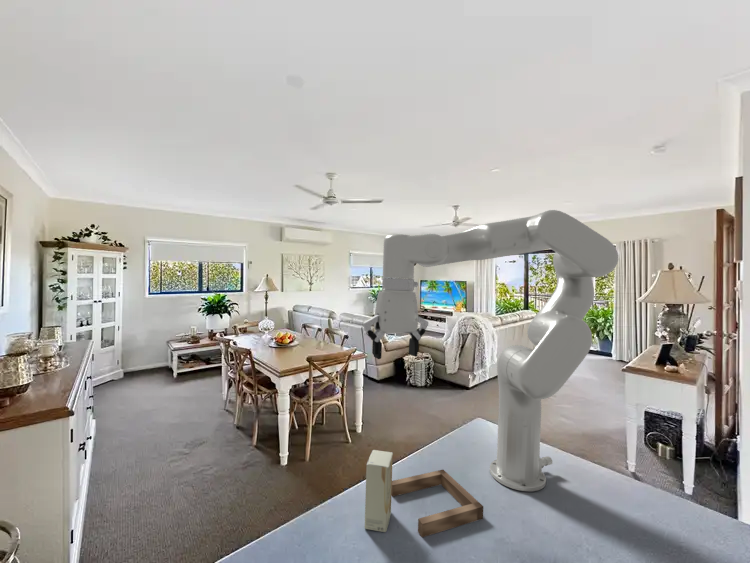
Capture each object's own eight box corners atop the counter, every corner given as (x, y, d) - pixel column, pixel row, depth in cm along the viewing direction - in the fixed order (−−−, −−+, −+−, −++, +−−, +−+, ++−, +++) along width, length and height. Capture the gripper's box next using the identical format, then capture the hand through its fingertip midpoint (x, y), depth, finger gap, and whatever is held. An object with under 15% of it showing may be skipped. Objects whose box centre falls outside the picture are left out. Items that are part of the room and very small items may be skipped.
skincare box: (386, 533, 64) (388, 468, 64) (363, 529, 65) (365, 464, 64) (391, 511, 70) (393, 451, 70) (370, 507, 71) (372, 448, 71)
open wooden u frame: (442, 479, 81) (443, 469, 81) (483, 518, 68) (483, 506, 68) (389, 492, 76) (389, 481, 76) (422, 537, 63) (422, 524, 63)
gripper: (420, 286, 90) (418, 351, 90) (358, 284, 83) (356, 355, 84) (436, 287, 83) (434, 357, 84) (370, 286, 77) (368, 362, 77)
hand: (395, 356), depth 84 cm, fingers open, 9 cm apart
